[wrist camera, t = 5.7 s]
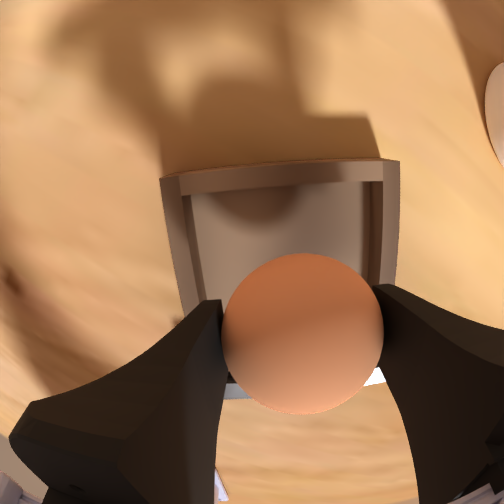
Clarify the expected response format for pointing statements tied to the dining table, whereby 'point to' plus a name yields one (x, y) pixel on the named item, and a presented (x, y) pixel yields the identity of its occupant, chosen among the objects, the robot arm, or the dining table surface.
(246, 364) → the ball
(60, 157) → the dining table surface
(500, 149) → the pill bottle
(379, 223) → the tray
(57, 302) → the dining table surface
